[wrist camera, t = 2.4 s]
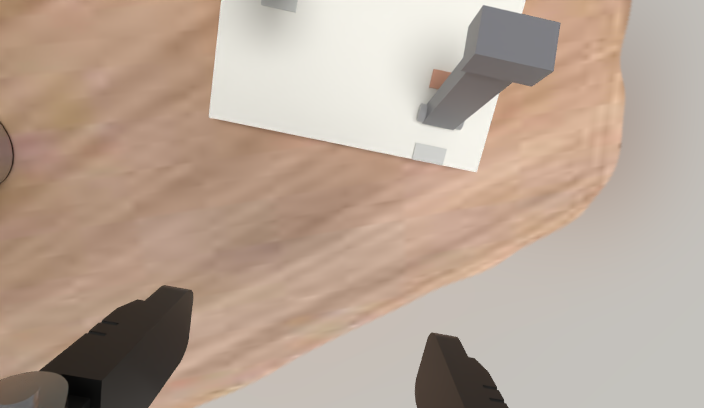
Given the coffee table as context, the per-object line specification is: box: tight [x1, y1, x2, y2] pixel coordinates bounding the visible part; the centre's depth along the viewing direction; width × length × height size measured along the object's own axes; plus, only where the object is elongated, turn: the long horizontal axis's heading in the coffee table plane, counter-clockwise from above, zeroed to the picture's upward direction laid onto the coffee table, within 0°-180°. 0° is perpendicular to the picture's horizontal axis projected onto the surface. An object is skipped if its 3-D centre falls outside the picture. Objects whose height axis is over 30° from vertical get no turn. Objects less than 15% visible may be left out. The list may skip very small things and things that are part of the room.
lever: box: [417, 5, 560, 130], centre depth 26 cm, size 4×3×14 cm, turn 78°
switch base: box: [209, 0, 526, 172], centre depth 33 cm, size 26×18×3 cm
